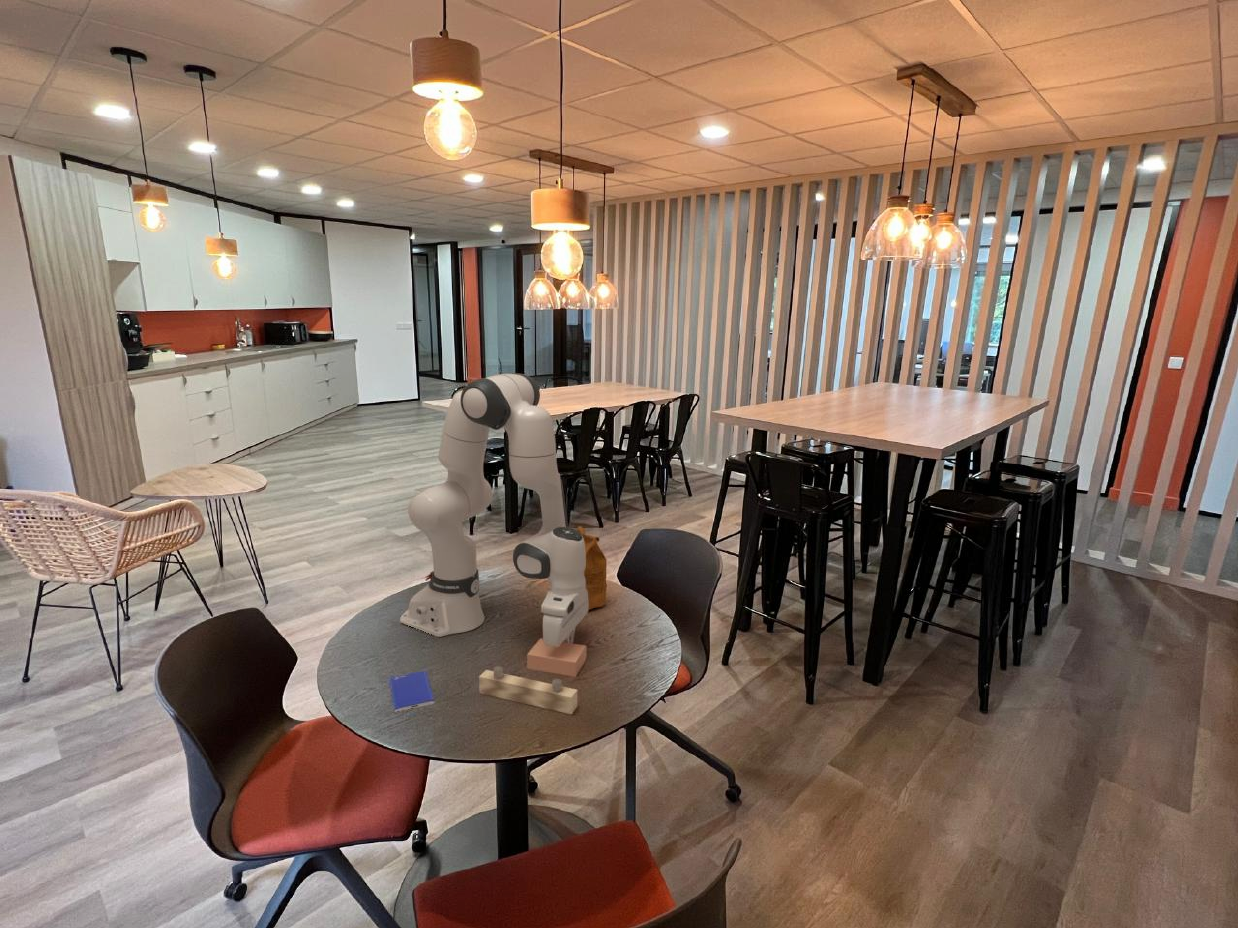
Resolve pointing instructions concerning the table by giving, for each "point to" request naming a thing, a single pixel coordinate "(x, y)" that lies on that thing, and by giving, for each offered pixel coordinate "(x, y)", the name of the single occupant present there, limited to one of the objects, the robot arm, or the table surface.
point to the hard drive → (411, 691)
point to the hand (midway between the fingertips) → (567, 645)
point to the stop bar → (528, 691)
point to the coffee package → (594, 571)
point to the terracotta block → (557, 658)
